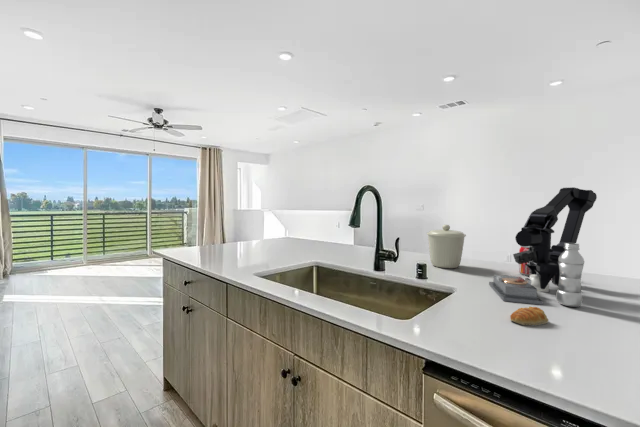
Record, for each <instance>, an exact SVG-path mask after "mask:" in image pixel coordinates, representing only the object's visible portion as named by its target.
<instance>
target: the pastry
mask: <svg viewBox="0 0 640 427" xmlns="http://www.w3.org/2000/svg"><path fill="white" fill-rule="evenodd" d="M509 316H510V321H511V322H514V323H515V324H519V325H521V326H532V325H534V326H533V327H535V325H536V326H542V325H541V324H543V325H546V324H547V323H549V318H548V317H547V315H546V313H545V311H544V310H543V309H541V308H539V307H538V306H528V307H520V308H519V307H518V308H517V309H516V310H515V311H513V312H512V313H511V314H510V315H509Z"/></svg>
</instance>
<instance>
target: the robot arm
mask: <svg viewBox="0 0 640 427" xmlns="http://www.w3.org/2000/svg"><path fill="white" fill-rule="evenodd" d="M597 198H598V197H597V193H596V192H594V191H593V189H592V190H591V189H580V188H578V187H561V188H560V189H559V191H558V193H557V194H556V195H554V197H553V198H552V199H550V201H548V203H547V204H546V205H544V206H542V207H539V208H536V209H534V211H532V212H531V213H530V214H529V216H528V218H527V220H526V222H525V223H524V225H523V227H521V230H520V231H518V232H517V233H516V235H515V242H516V244H518V246H520V247H521V246H523V247H525V246H530V247H529V250H528V251H523V252H519V251H518V252H516V253H513V254H512V256H513V259H514V261H515V263H517V264H518V265H519V264H523V263H527V264H525V265H526V266H527V267H528V268H529V269H530V271H531V274H535V275H536V272H537V273H538V274H539V280H540V287H541V289H545V288H546V286H547V285H548V283H549V284H550V282H551V283H552V284H554V285H555V286H557V287H558V285H559V276H560V275H559V263H558V258H559V256H560V255H561V253H563V252H564V251H565V249H564V243H577V241H578V238H579V235H580V231H581V228H582V224H583V223H584V222H583V221H584V217H585V215H586V213H587V212H588V211H589V210H591V209H593V206H594V204H595V202H596V201H597ZM565 207H568V209H569V210H568V214H567V215H566V220H565V224H564V227H563V230H562V234H561V237H560V240H559V241H558V242H559V243H557V244H552V234H554V233H555V230H554V229H553V227H554V226H555V225H556V223H558V220H559V218H558V216H559V215H560V213H561V212H562V211H564V209H565ZM531 246H532V247H531Z"/></svg>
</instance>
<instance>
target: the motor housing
mask: <svg viewBox="0 0 640 427" xmlns="http://www.w3.org/2000/svg"><path fill="white" fill-rule="evenodd" d="M492 280H493V281H489V282H488V285H489V286H490V287H491V289H492V290H493V291H494V292H495V293H496V295H497V296H499V298H500V299H501V300H502V301H503V302H510V303H518V304H529V305H530V304H531V305H540V306H543V300H541V299H540V297H538V291H537V289H536V288H535V287H534V286H532V285H531V281H532V280H530V277H529V278H527V277H525V278H523V277H521V276H512V275H501V274H500V275H499V274H493V279H492Z"/></svg>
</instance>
